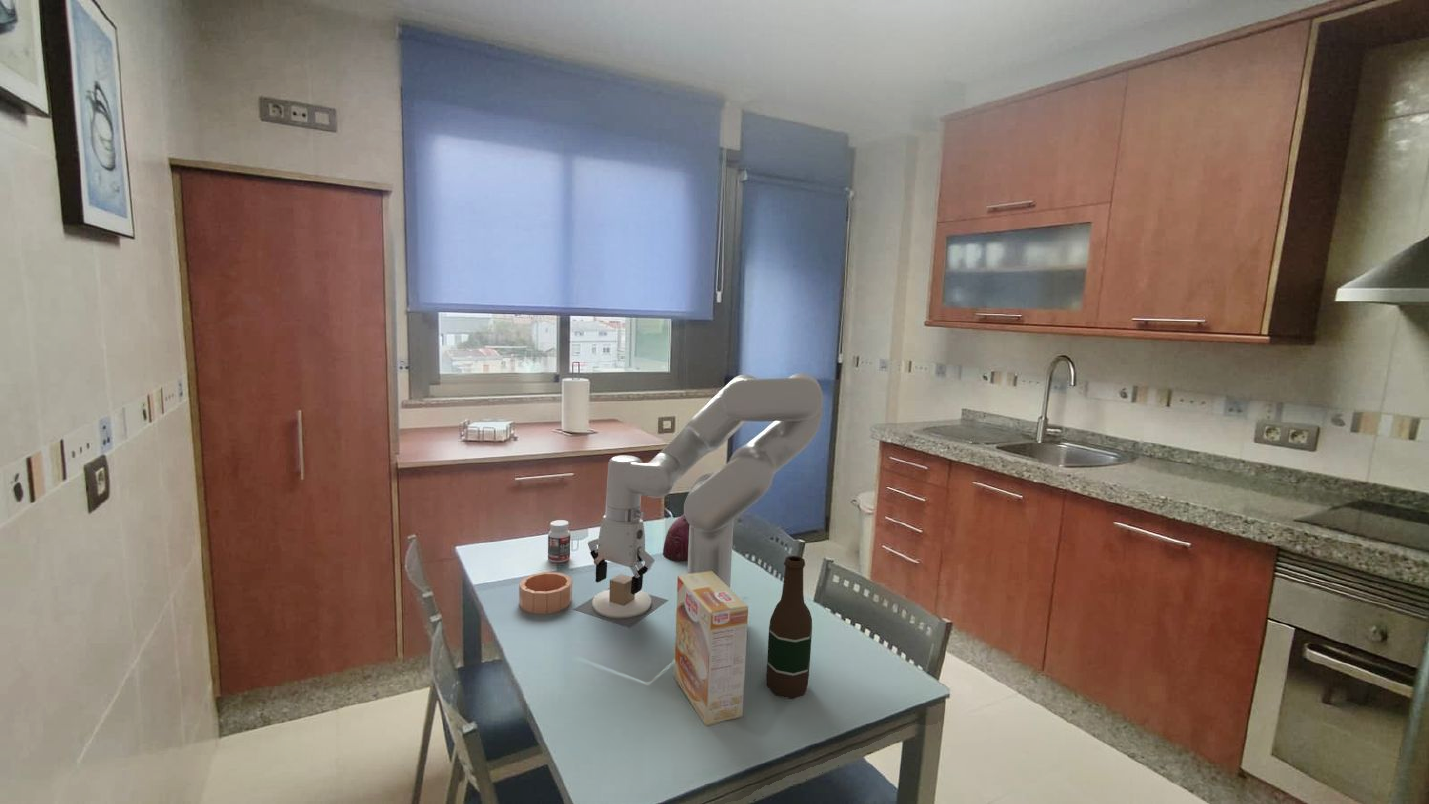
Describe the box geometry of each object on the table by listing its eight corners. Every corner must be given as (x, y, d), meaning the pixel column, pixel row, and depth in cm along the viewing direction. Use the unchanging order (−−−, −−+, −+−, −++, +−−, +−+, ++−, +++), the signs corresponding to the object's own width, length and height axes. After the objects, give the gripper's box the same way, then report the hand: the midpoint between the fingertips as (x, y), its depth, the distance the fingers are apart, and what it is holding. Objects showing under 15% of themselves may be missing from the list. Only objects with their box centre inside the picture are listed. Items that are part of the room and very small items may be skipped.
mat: (668, 602, 142) (668, 600, 142) (629, 629, 129) (629, 627, 129) (615, 586, 149) (615, 584, 149) (573, 611, 135) (573, 609, 135)
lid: (662, 600, 141) (662, 575, 141) (628, 623, 130) (629, 596, 129) (615, 587, 147) (616, 563, 146) (580, 608, 136) (580, 582, 135)
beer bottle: (780, 669, 116) (788, 546, 113) (817, 685, 112) (825, 558, 108) (756, 687, 110) (763, 558, 107) (793, 705, 106) (802, 571, 102)
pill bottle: (564, 564, 160) (564, 527, 159) (543, 561, 162) (544, 525, 160) (573, 556, 166) (574, 520, 165) (553, 553, 167) (554, 518, 166)
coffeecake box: (672, 676, 113) (676, 574, 110) (708, 669, 115) (712, 569, 113) (704, 727, 99) (709, 612, 96) (744, 717, 102) (750, 605, 99)
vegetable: (703, 564, 173) (720, 515, 171) (682, 571, 164) (700, 519, 162) (674, 546, 178) (691, 498, 176) (652, 552, 169) (669, 502, 167)
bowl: (581, 600, 141) (581, 579, 140) (547, 620, 131) (547, 597, 130) (544, 588, 146) (544, 568, 145) (509, 607, 136) (509, 585, 135)
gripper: (665, 516, 135) (659, 590, 137) (602, 500, 143) (598, 570, 145) (645, 525, 128) (640, 603, 131) (580, 508, 136) (576, 581, 139)
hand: (618, 586), depth 138 cm, fingers open, 9 cm apart
